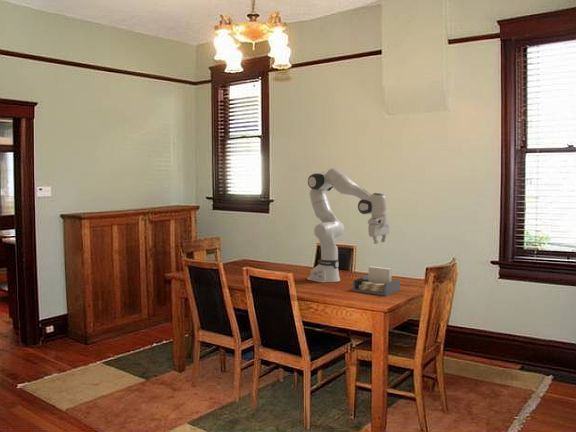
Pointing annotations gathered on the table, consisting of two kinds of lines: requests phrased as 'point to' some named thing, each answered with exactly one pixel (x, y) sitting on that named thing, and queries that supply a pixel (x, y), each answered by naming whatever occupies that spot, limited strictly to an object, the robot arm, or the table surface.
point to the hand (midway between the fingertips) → (379, 242)
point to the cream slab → (379, 274)
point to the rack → (388, 289)
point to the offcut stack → (372, 286)
